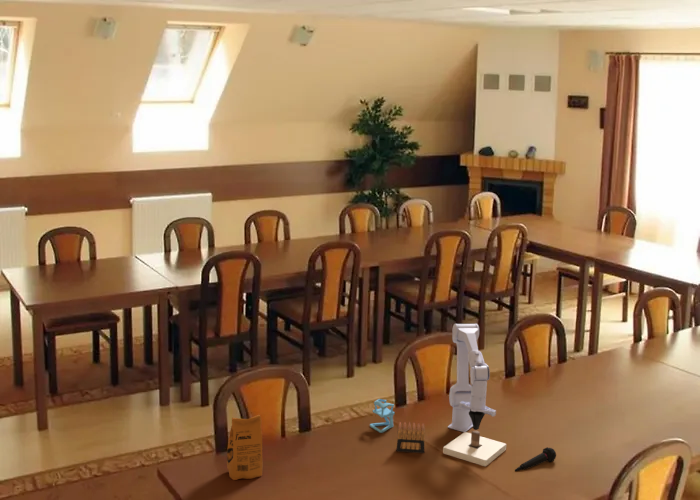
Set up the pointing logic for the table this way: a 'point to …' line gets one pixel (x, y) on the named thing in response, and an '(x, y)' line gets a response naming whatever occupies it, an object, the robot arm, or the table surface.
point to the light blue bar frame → (383, 415)
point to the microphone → (539, 459)
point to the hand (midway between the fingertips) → (476, 428)
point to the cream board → (474, 449)
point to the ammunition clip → (411, 438)
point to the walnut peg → (475, 439)
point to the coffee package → (245, 448)
